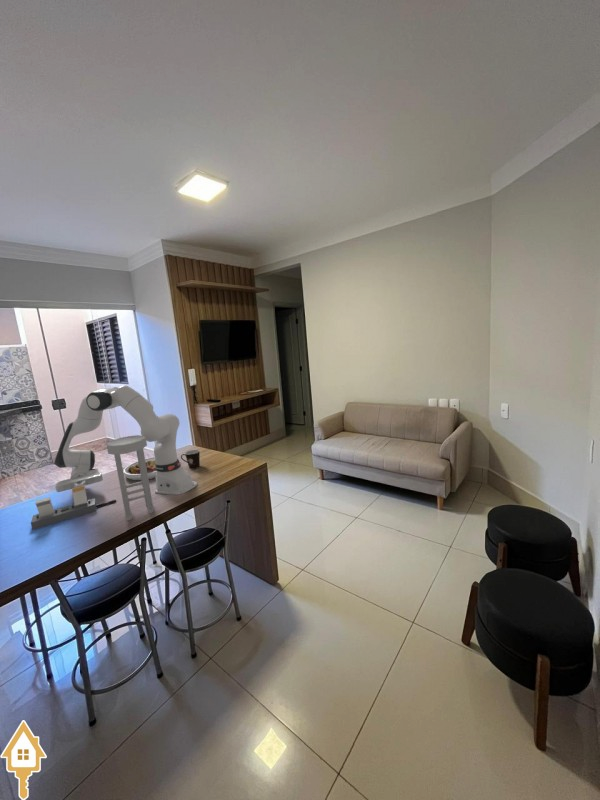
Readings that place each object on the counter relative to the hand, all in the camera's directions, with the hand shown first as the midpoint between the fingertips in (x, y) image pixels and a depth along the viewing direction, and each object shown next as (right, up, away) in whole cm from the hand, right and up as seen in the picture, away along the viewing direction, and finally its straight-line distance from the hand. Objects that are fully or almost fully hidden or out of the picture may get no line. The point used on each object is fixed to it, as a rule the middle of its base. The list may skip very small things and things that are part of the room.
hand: (79, 486), depth 158 cm
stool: (+35, -9, -10) cm, 38 cm away
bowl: (+18, -2, +39) cm, 43 cm away
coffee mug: (+43, +1, +42) cm, 60 cm away
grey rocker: (-5, -8, -14) cm, 17 cm away
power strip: (+4, -11, -8) cm, 14 cm away
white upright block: (+6, -6, -7) cm, 11 cm away
